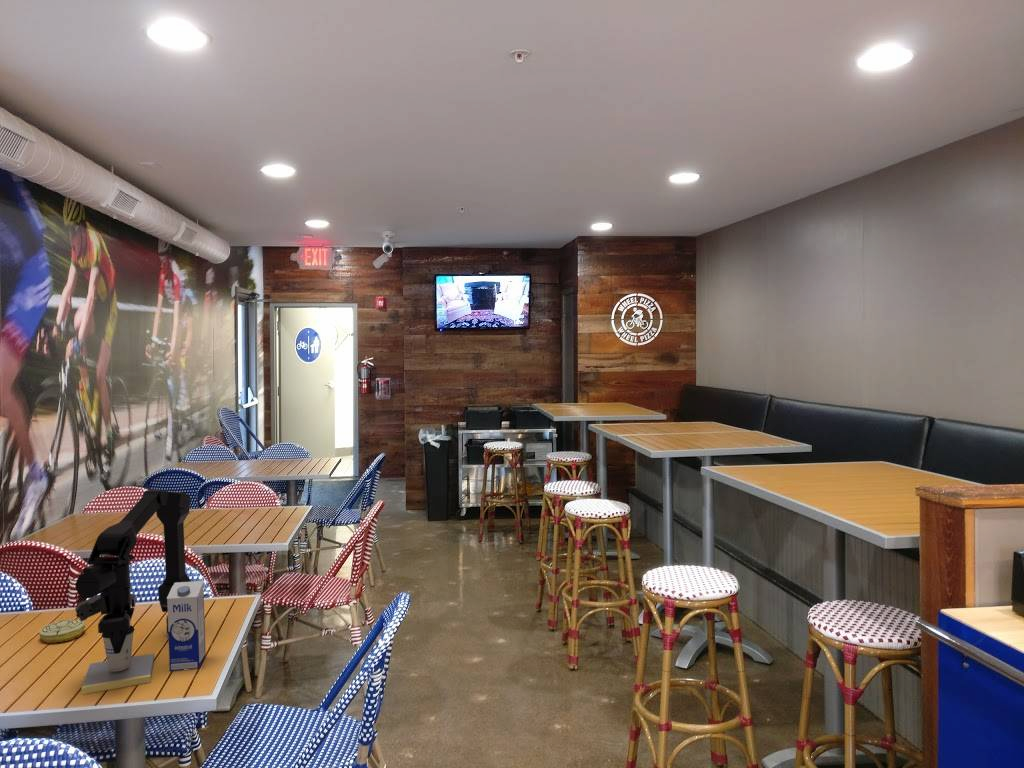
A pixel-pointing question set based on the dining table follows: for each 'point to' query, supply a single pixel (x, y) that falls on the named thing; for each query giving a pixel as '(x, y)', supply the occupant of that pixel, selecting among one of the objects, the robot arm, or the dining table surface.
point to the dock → (118, 675)
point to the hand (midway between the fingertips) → (119, 647)
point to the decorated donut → (62, 631)
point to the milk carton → (186, 625)
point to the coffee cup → (121, 659)
